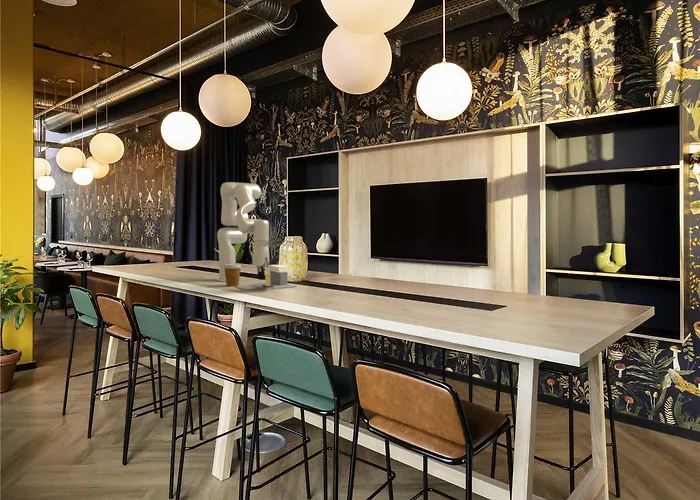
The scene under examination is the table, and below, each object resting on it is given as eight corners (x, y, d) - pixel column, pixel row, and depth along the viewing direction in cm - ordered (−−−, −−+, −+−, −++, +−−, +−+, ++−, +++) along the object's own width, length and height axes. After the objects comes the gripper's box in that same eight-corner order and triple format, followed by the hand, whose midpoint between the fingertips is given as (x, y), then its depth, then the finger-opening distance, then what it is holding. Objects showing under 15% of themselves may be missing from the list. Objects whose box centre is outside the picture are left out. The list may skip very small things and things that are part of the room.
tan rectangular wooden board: (265, 287, 235) (265, 273, 235) (265, 283, 249) (265, 271, 248) (270, 287, 236) (270, 273, 235) (270, 283, 249) (270, 271, 249)
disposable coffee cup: (243, 284, 260) (243, 263, 259) (238, 287, 250) (237, 265, 250) (227, 284, 261) (227, 263, 260) (220, 286, 251) (220, 264, 251)
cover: (268, 270, 261) (268, 265, 261) (278, 269, 265) (278, 264, 265) (278, 272, 252) (278, 266, 251) (289, 271, 255) (289, 266, 255)
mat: (235, 287, 250) (235, 286, 250) (249, 285, 255) (249, 285, 255) (245, 290, 240) (245, 289, 240) (260, 288, 245) (260, 288, 245)
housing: (251, 286, 255) (251, 271, 255) (280, 283, 266) (280, 269, 266) (266, 289, 241) (266, 274, 241) (296, 287, 252) (296, 272, 252)
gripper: (248, 243, 242) (248, 278, 243) (261, 244, 230) (261, 281, 231) (261, 243, 246) (261, 277, 248) (274, 244, 235) (274, 280, 236)
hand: (261, 279), depth 239 cm, fingers closed
